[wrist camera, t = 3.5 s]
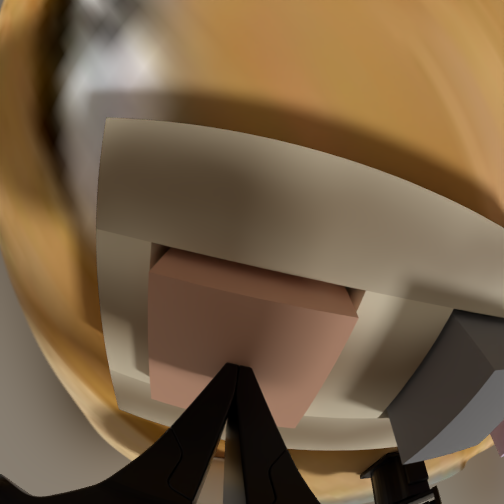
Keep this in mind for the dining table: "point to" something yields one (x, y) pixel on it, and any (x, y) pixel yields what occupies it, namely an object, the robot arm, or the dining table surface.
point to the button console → (289, 258)
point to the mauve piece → (499, 438)
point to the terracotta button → (243, 330)
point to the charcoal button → (452, 390)
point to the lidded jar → (213, 484)
